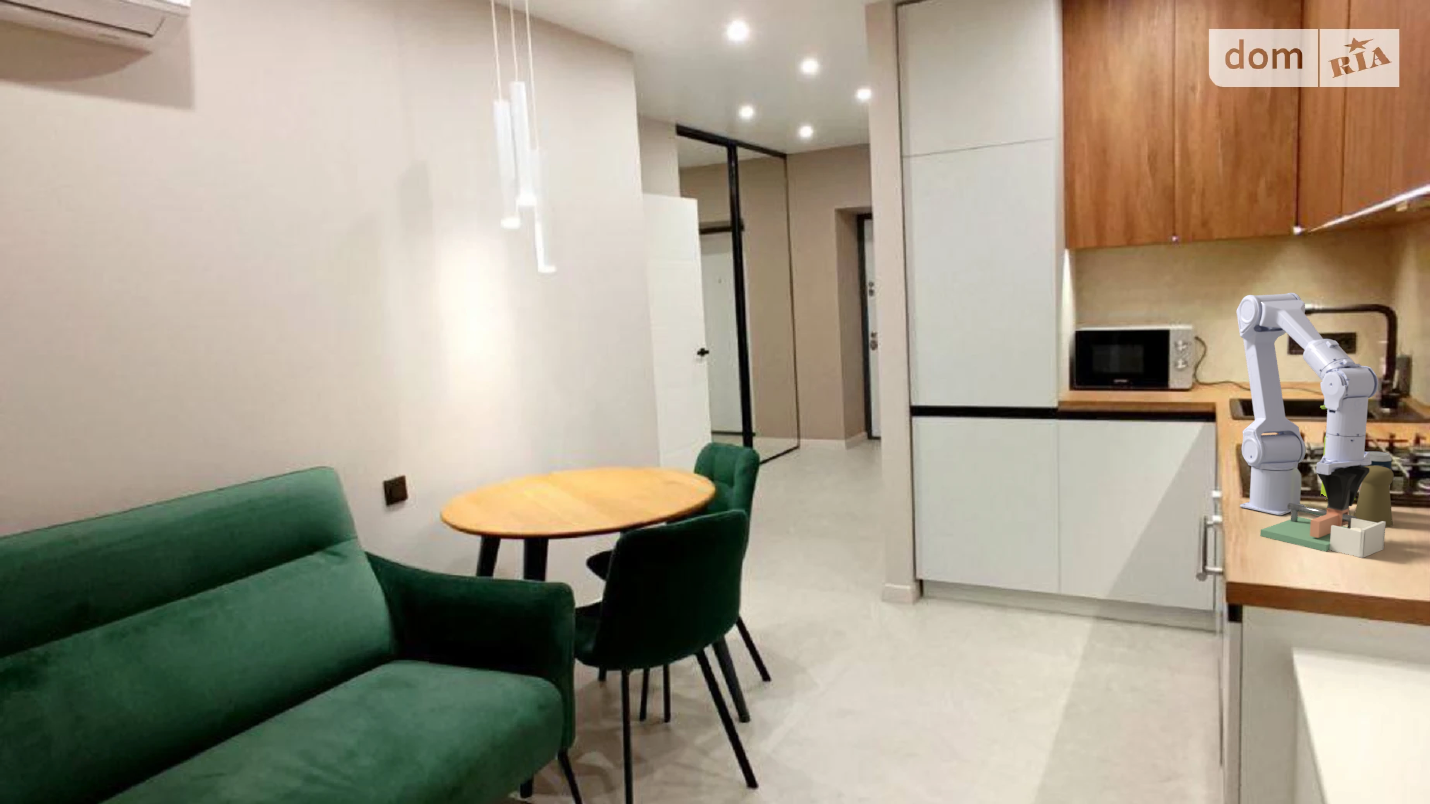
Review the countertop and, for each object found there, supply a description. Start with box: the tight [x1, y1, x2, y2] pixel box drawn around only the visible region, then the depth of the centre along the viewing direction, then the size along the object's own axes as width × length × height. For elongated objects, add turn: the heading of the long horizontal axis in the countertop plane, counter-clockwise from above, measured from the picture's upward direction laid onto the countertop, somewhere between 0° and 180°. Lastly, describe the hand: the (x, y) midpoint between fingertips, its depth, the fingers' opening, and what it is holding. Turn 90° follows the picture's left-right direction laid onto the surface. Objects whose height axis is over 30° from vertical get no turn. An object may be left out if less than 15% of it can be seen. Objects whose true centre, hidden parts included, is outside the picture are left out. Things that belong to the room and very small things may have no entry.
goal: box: [1329, 518, 1386, 559], centre depth 146 cm, size 7×5×5 cm
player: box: [1310, 490, 1350, 538], centre depth 151 cm, size 9×2×7 cm, turn 119°
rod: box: [1288, 503, 1357, 529], centre depth 155 cm, size 1×11×3 cm, turn 29°
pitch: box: [1260, 516, 1348, 552], centre depth 154 cm, size 13×11×1 cm
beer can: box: [1358, 450, 1393, 494], centre depth 165 cm, size 5×5×12 cm
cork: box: [1353, 466, 1395, 528], centre depth 159 cm, size 6×6×11 cm
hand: (1340, 506), depth 152 cm, fingers closed on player, 2 cm apart
